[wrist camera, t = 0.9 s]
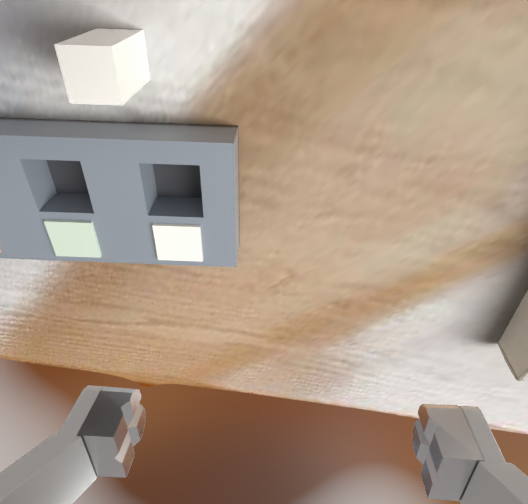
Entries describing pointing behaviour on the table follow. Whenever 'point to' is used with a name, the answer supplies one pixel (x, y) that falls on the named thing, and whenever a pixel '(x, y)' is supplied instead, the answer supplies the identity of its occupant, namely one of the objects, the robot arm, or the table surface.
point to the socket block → (119, 192)
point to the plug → (103, 66)
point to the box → (517, 342)
